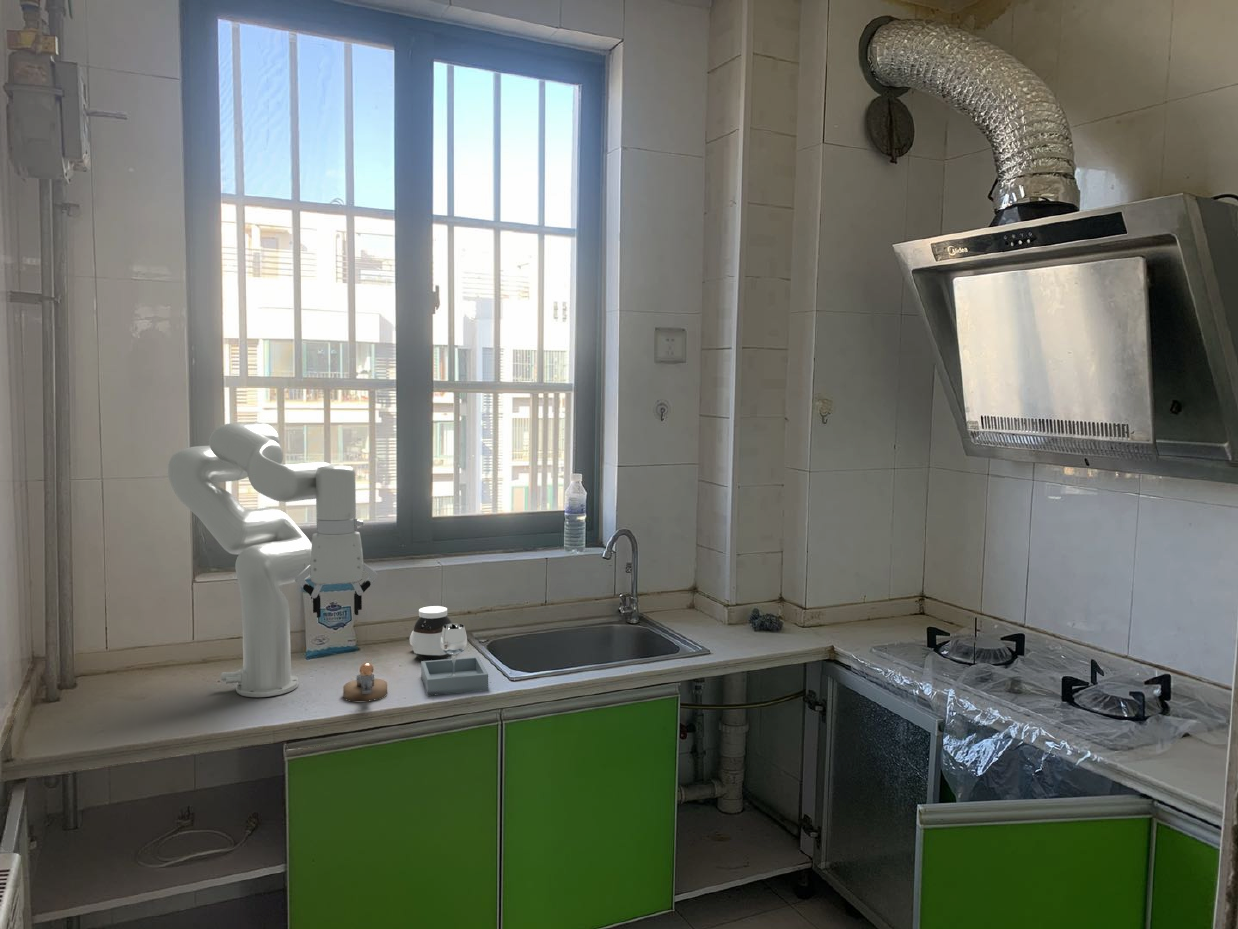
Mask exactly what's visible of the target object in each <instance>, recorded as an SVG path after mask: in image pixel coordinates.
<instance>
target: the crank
mask: <svg viewBox="0 0 1238 929" xmlns="http://www.w3.org/2000/svg"><path fill="white" fill-rule="evenodd" d="M361 664H362V663H361ZM373 673H374V666H373V664H371V663H369V662H365V663H363V664H362V665H360V667H359V674H358V675H356V680H357V686H358V687H361V690H362V694H368V693H371V689H372V686H373V685H374V679H375V675H374V674H373Z"/></svg>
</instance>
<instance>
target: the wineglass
mask: <svg viewBox="0 0 1238 929" xmlns="http://www.w3.org/2000/svg"><path fill="white" fill-rule="evenodd" d="M440 643H441V648H442V650H443V651H444V652H445V653H447V654H449V655H451V658H450V659H451V660H452V664H453V673H452V675H451V676H458V675H456V674H455V662H456V658H457V657H456V655H459V654H461V653H462V652H464V651H465V649H466V648H467V643H468V637H467V632H466V628H465V625H464V624H463V623H452V624H447V625H444V626H443V629H442V633H441V641H440ZM447 677H450V676H447Z"/></svg>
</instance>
